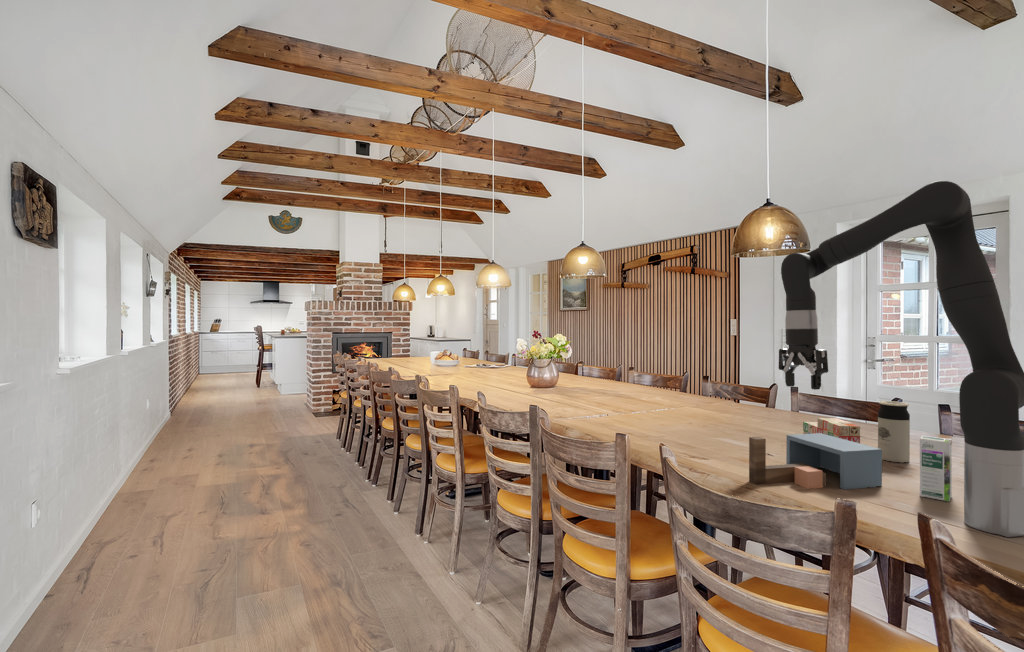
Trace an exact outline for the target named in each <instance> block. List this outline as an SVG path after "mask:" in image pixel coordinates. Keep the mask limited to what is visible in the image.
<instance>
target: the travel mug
mask: <svg viewBox="0 0 1024 652" xmlns="http://www.w3.org/2000/svg"><path fill="white" fill-rule="evenodd" d="M878 404H879V406H880V408H879V409H878V411H877V448H879V449H882V461H885V460H886V462H889V461H891V462H890V463H896V462H900V463H899V464H903V463H904V462H906V463H909V462H910V459H911V457H910V452H911V451H910V450H911V449H910V444H911V443H910V437H911V435H910V432H911V431H910V430H911V429H910V427H911V422H910V421H911V420H910V416H911V415H910V413H909V411H908V407H909V406H910V405H909V403H907V402H901V401H891V400H881V401H880V400H879V402H878Z"/></svg>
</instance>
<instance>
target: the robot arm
mask: <svg viewBox="0 0 1024 652" xmlns="http://www.w3.org/2000/svg"><path fill="white" fill-rule="evenodd" d="M972 211H973V210H972V204H971V198H970V196H969V194H968V193H967V192H966V191H965V189H964V188H962V187H961V186H960V185H959V184H957V183H956V182H954V181H950V180H936V181H933V182H929V183H928V184H925V185H924V186H922V187H921V188H919V189H918V190H916V191H914V192H913V193H911V194H910V195H908V196H907V197H905V198H903V199H902V200H900V201H899V202H897V203H896V204H894V205H892V206H891V207H889V208H887V209H885V210H883V211H882V212H880V213H879V214H877V215H875V216H872V218H869V219H867V220H865V221H864V222H862V223H859V224H857V225H855V226H853V227H852V228H851V227H850V228H849V229H847V230H845V231H843V232H841V233H838V234H836V235H834V236H832V237H829V238H827V239H825V240H824V241H822V242H821V243H819V246H818V247H817V248H815V249H814V250H811V251H809V252H806V253H801V252H791V253H789V254H787V255H786V256H785V257H784V258H783V261H782V263H781V267H780V274H781V280H782V284H783V289H784V293H785V320H784V321H785V344H786V345H787V346H788V348H779V349H778V370H779V371H782V372H783V373H784V376H785V377H784V379H785V380H784V381H785V386H786V387H791V388H792V387H795V385H796V384H795V383H796V382H795V381H796V380H795V370H796V369H797V367H799V366H804V367H805V368H806V369H808V371H809V372H810V374H811V375H810V388H811V390H814V391H815V390H817V391H818V390H820V389H821V388H822V375H823V374H827V373H828V372H829V363H828V362H829V361H828V351H827V349H817V348H816V347H817V346H818V343H819V336H818V335H819V331H818V330H819V329H818V315H817V297H816V296H817V295H816V293H815V290H813V288H812V286H811V281H810V280H811V279H814V278H816V277H819V276H820V275H821V274H824V273H825V272H827V271H829V270H830V269H832V268H833V267H835V266H837V265H840V264H843V263H845V262H847V261H850V260H853V259H854V258H856V257H860V256H862V255H863V254H866V253H867V252H869V251H870V250H872V249H874V248H875V247H877V246H878V245H879V244H882V243H883V242H885V241H886V240H888V239H890V238H891V237H893V236H895V235H897V234H899V233H901V232H904V231H907V230H908V229H911V228H915V227H918V226H921V225H925V227H926V230H928V231H927V232H928V233H929V236H930V239H931V241H932V243H933V247H934V250H935V260H936V261H935V263H936V264H935V265H936V267H935V269H936V271H935V272H936V273H935V276H936V285H937V290H938V293H939V297H940V301H941V304H942V308H943V311H944V313H945V316H946V317H947V319H948V321H949V323H950V325H951V326H952V328H954V330H955V331H956V333H957V335H958V337H960V339H961V341H962V342H963V344H964V345H965V347H966V349H967V353H968V357H969V359H970V363H971V367H972V368H971V369H972V372H971V373H969V374H967V375H965V376H964V377H963V379H962V381H961V383H960V386H959V397H958V398H959V399H958V402H959V403H958V404H959V421H960V422H959V423H960V427H961V430H962V433H963V436H964V441H963V442H964V457H963V458H964V459H963V461H964V463H963V469H964V471H963V473H964V474H963V476H964V478H963V479H964V480H963V482H964V483H963V485H964V486H963V488H964V489H963V491H964V492H963V504H964V505H963V522H964V523H965V524H966V525H967V526H969V527H971V528H974V529H975V530H978V531H981V532H982V531H983V532H985V533H990V534H994V535H998V536H1004V537H1005V538H1013V537H1022V536H1023V537H1024V433H1022V431H1021V428H1020V411H1019V410H1020V409H1022V408H1023V407H1024V370H1023V367H1022V365H1021V363H1020V360H1019V359H1018V356H1017V354H1016V352H1015V350H1014V348H1013V344H1012V341H1011V339H1010V334H1009V330H1008V325H1007V322H1006V318H1005V315H1004V311H1003V308H1002V304H1001V300H1000V299H1001V298H1000V295H999V292H998V289H997V286H996V282H995V279H994V277H993V274H992V272H991V269H990V266H989V264H988V261H987V259H986V257H985V255H984V253H983V250H982V248H981V246H980V244H979V242H978V239H977V234H976V230H975V226H974V225H975V224H974V220H973V219H974V218H973V212H972Z"/></svg>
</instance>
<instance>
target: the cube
mask: <svg viewBox="0 0 1024 652" xmlns="http://www.w3.org/2000/svg"><path fill="white" fill-rule="evenodd" d="M794 484H795V485H797V484H798V485H797V486H799V485H800V486H799V487H802V488H804V487H805V489H807V488H808V490H810V489H809V488H813V489H822V488H824V487H823V470H821V469H819V468H817V467H810V466H803V467H795V482H794Z"/></svg>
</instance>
